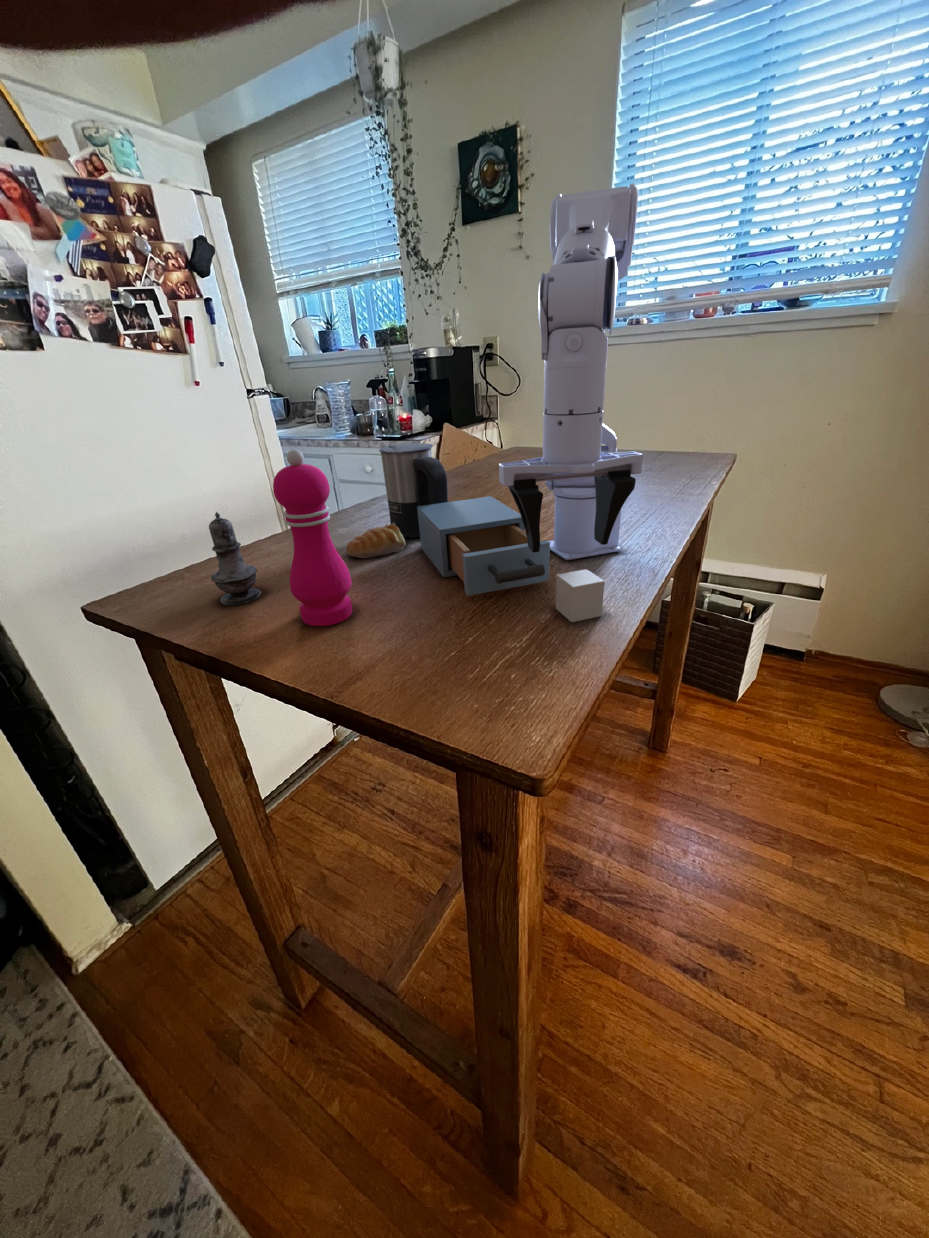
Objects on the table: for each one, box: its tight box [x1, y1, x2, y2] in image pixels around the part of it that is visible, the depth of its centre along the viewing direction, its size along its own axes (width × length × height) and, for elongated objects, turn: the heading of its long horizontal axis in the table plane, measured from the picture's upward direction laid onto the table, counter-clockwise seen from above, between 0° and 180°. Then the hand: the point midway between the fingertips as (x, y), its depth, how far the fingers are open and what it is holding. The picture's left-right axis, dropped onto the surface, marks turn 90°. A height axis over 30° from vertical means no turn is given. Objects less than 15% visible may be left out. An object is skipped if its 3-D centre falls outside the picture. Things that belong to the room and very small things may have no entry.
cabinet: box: [417, 495, 526, 578], centre depth 77 cm, size 14×13×7 cm
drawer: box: [445, 524, 551, 597], centre depth 67 cm, size 17×11×5 cm
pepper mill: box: [272, 449, 354, 627], centre depth 58 cm, size 7×7×20 cm
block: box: [555, 568, 605, 623], centre depth 59 cm, size 4×4×4 cm
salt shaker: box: [208, 511, 262, 606], centre depth 67 cm, size 6×6×12 cm
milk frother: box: [378, 442, 449, 539], centre depth 90 cm, size 14×16×15 cm
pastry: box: [346, 523, 406, 559], centre depth 82 cm, size 9×7×4 cm
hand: (567, 545), depth 55 cm, fingers open, 7 cm apart
